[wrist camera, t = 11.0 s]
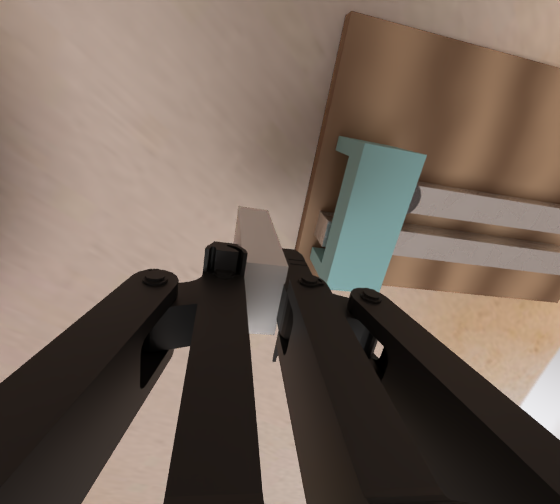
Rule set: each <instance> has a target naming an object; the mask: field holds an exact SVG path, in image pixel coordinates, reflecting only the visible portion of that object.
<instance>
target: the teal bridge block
mask: <svg viewBox="0 0 560 504" xmlns="http://www.w3.org/2000/svg"><path fill="white" fill-rule="evenodd" d="M336 151H339V152H341V153H343V154H345V155H348V156H349V158H348V162H347V166H346V170H345V174H344V178H343V182H342V185H341V189H340V193H339V197H338V201H337V205H336V209H335V213H334V217H333V220H332V224H331V228H330V232H329V236H328V240H327V244H326V248H325V249H324V248H316V247H312V251H311V255H310V260H311V262H312V264H313V266H314V268H315V270H316V272H317V274H318V276H319V277H320V278H321V279H322V280H324V281H325V282H326V283H327V285H328V286H329V288H330V290H340V291H352V290H353V289H355V288H369V289H374V290H375V291H377V292H379V291H380V289H381V286H382V283H383V280H384V277H385V274H386V271H387V268H388V266H389V263H390V260H391V257H392V254H393V251H394V248H395V245H396V243H397V240H398V237H399V234H400V231H401V228H402V225H403V223H404V220H405V217H406V214H407V211H408V208H409V205H410V202H411V200H412V197H413V194H414V191H415V188H416V185H417V182H418V179H419V177H420V174H421V171H422V168H423V165H424V162H425V159H426V156H427V155H425V154H421V153H417V152H413V151H409V150H405V149H401V148H397V147H393V146H389V145H384V144H379V143H374V142H369V141H363V140H358V139H353V138H348V137H343V136H339V138H338V142H337V146H336Z"/></svg>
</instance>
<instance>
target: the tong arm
mask: <svg viewBox="0 0 560 504" xmlns="http://www.w3.org/2000/svg"><path fill="white" fill-rule="evenodd" d="M409 213H413V214H420V215H427V216H434V217H442V218H449V219H456V220H463V221H470V222H477V223H484V224H491V225H498V226H505V227H512V228H520V229H527V230H534V231H541V232H548V233H555V234H560V204H554V203H548V202H542V201H536V200H530V199H523V198H517V197H511V196H505V195H499V194H493V193H486V192H480V191H474V190H468V189H462V188H456V187H450V186H443V185H437V184H431V183H425V182H419V181H418V182H417V185H416V188H415V191H414V194H413V197H412V200H411V202H410V205H409V208H408V211H407V214H409Z"/></svg>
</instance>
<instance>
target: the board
mask: <svg viewBox="0 0 560 504" xmlns="http://www.w3.org/2000/svg"><path fill="white" fill-rule="evenodd" d="M339 136H343V137H348V138H353V139H358V140H363V141H369V142H374V143H379V144H384V145H389V146H393V147H397V148H401V149H405V150H409V151H413V152H417V153H421V154H425V155H427V156H426V159H425V162H424V165H423V168H422V171H421V174H420V177H419V179H418V181H419V182H425V183H431V184H437V185H443V186H450V187H456V188H462V189H468V190H474V191H480V192H486V193H493V194H499V195H505V196H511V197H517V198H523V199H530V200H536V201H542V202H548V203H554V204H560V68H557V67H554V66H550V65H546V64H543V63H539V62H535V61H532V60H528V59H525V58H521V57H517V56H514V55H510V54H506V53H503V52H499V51H495V50H492V49H488V48H484V47H481V46H477V45H474V44H470V43H466V42H463V41H459V40H455V39H452V38H448V37H444V36H441V35H437V34H434V33H430V32H426V31H423V30H419V29H415V28H412V27H408V26H404V25H401V24H397V23H394V22H390V21H386V20H383V19H379V18H375V17H372V16H368V15H364V14H361V13H357V12H354V11H351V12H350V13H349V14H347V15H346V17H345V21H344V26H343V30H342V35H341V40H340V44H339V49H338V53H337V58H336V63H335V67H334V72H333V76H332V81H331V86H330V90H329V95H328V99H327V104H326V109H325V113H324V118H323V122H322V127H321V132H320V136H319V141H318V145H317V150H316V155H315V159H314V164H313V168H312V173H311V178H310V182H309V187H308V191H307V196H306V201H305V205H304V210H303V214H302V219H301V224H300V228H299V233H298V237H297V242H296V247H295V250H297V251H298V252H299V253H300V254H302V255H303V257H304V259H305V262H306V263H307V265H308V267H309V269H310V271H311V273H312V275H314V276H317V277H319V276H318V274H317V272H316V270H315V268H314V266H313V264H312V262H311V260H310V255H311V251H312V247H316V248H324V249H325V248H326V247H322V246H321V244H320V243H319V241H318V240H317V238H316V236H315V235H314V233H315V229H316V225H317V221H318V216H319V212H320V211H324V212H331V213H335V209H336V205H337V201H338V197H339V193H340V189H341V185H342V182H343V178H344V174H345V170H346V166H347V162H348V158H349V156H348V155H345V154H343V153H341V152H339V151H336V146H337V142H338V138H339ZM404 223H408V224H415V225H422V226H429V227H436V228H443V229H450V230H457V231H464V232H471V233H478V234H485V235H492V236H499V237H506V238H513V239H520V240H527V241H534V242H541V243H548V244H555V245H558V246H560V234H555V233H548V232H541V231H534V230H527V229H520V228H512V227H505V226H498V225H491V224H484V223H477V222H470V221H463V220H456V219H449V218H442V217H434V216H427V215H420V214H413V213H409V214H406V217H405V220H404ZM319 278H320V277H319ZM382 285H385V286H395V287H405V288H415V289H425V290H435V291H445V292H455V293H465V294H475V295H485V296H495V297H505V298H515V299H525V300H535V301H545V302H555V303H558V301H559V299H560V275H554V274H546V273H537V272H529V271H521V270H512V269H504V268H496V267H488V266H479V265H471V264H463V263H454V262H446V261H438V260H429V259H421V258H413V257H405V256H396V255H392V257H391V260H390V263H389V266H388V268H387V271H386V274H385V277H384V280H383V283H382Z"/></svg>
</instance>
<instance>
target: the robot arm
mask: <svg viewBox="0 0 560 504" xmlns="http://www.w3.org/2000/svg"><path fill="white" fill-rule="evenodd" d="M178 282H179V280H178V278H177V276H176V275H175V274H173V273H172V272H168V271H165V270H159V269H147V270H144V271H140V272H137V273H136V274H134V275H132V276H131V277H130V278H129V279H127V280H126V281H125V282H124V283H122V284H121V285H120V286H119V287H118V288H116V289H115V290H114V291H113V292H111V293H110V294H109V295H108V296H107V297H105V298H104V299H103V300H102V301H100V302H99V303H98V304H97V305H96V306H94V307H93V308H92V309H91V310H89V311H88V312H87V313H86V314H85V315H83V316H82V317H81V318H80V319H78V320H77V321H76V322H75V323H74V324H72V325H71V326H70V327H69V328H67V329H66V330H65V331H64V332H63V333H61V334H60V335H59V336H58V337H56V338H55V339H54V340H53V341H51V342H50V343H49V344H48V345H47V346H45V347H44V348H43V349H42V350H40V351H39V352H38V353H37V354H36V355H34V356H33V357H32V358H31V359H29V360H28V361H27V362H26V363H25V364H23V365H22V366H21V367H20V368H18V369H17V370H16V371H15V372H14V373H12V374H11V375H10V376H9V377H7V378H6V379H5V380H4V381H3V382H1V383H0V504H81V503H82V502H83V500H84V498H85V497H86V495H87V494H88V492H89V490H90V489H91V487H92V485H93V484H94V482H95V481H96V479H97V477H98V476H99V474H100V472H101V471H102V469H103V468H104V466H105V464H106V463H107V461H108V459H109V458H110V456H111V455H112V453H113V451H114V450H115V448H116V446H117V445H118V443H119V442H120V440H121V438H122V437H123V435H124V433H125V432H126V430H127V429H128V427H129V425H130V424H131V422H132V421H133V419H134V417H135V416H136V414H137V412H138V411H139V409H140V408H141V406H142V404H143V403H144V401H145V399H146V398H147V396H148V395H149V393H150V391H151V390H152V388H153V386H154V385H155V383H156V382H157V380H158V378H159V377H160V375H161V373H162V372H163V370H164V369H165V367H166V365H167V364H168V362H169V361H170V359H171V357H172V355H173V352H174V349H175V348H181V347H187V346H190V351H189V357H188V363H187V369H186V375H185V380H184V386H183V392H182V398H181V404H180V410H179V416H178V422H177V427H176V433H175V439H174V445H173V451H172V457H171V463H170V468H169V474H168V480H167V486H166V492H165V498H164V503H163V504H264V501H263V493H262V481H261V469H260V457H259V445H258V433H257V422H256V410H255V398H254V386H253V374H252V362H251V350H250V339H249V333H250V334H267V335H274V334H275V329H276V324H278V329H279V331H278V336H277V341H276V345H275V350H274V355H273V361H272V362H276V358H277V356H279V361H280V366H281V371H282V377H283V382H284V387H285V393H286V398H287V403H288V408H289V414H290V419H291V424H292V430H293V435H294V440H295V445H296V451H297V456H298V461H299V466H300V472H301V477H302V482H303V488H304V493H305V498H306V503H307V504H560V440H559V439H557V438H556V437H555V436H554V435H553V434H552V433H550V432H549V431H548V430H547V429H545V428H544V427H543V426H542V425H540V424H539V423H538V422H537V421H536V420H535V419H533V418H532V417H531V416H530V415H528V414H527V413H526V412H525V411H524V410H522V409H521V408H520V407H519V406H518V405H516V404H515V403H514V402H513V401H512V400H510V399H509V398H508V397H507V396H506V395H504V394H503V393H502V392H501V391H500V390H498V389H497V388H496V387H495V386H493V385H492V384H491V383H490V382H489V381H487V380H486V379H485V378H484V377H483V376H481V375H480V374H479V373H478V372H477V371H475V370H474V369H473V368H472V367H470V366H469V365H468V364H467V363H466V362H464V361H463V360H462V359H461V358H460V357H458V356H457V355H456V354H455V353H454V352H452V351H451V350H450V349H449V348H447V347H446V346H445V345H444V344H443V343H441V342H440V341H439V340H438V339H437V338H435V337H434V336H433V335H432V334H431V333H429V332H428V331H427V330H426V329H424V328H423V327H422V326H421V325H420V324H418V323H417V322H416V321H415V320H414V319H412V318H411V317H410V316H409V315H408V314H406V313H405V312H404V311H403V310H401V309H400V308H399V307H398V306H397V305H395V304H394V303H393V302H392V301H391V300H389V299H388V298H387V297H386V296H384V295H383V294H381V293H379V292H377V291H375V290H374V289H369V288H355V289H353V290H352V291H351V293H350V297H349V298H347V297H343V296H339V295H335V294H332V292H331V290H330V288H329V286H328V285H327V283H326V282H325V281H324V280H322V279H321V278H319V277H317V276H314V275H312V273H311V271H310V269H309V267H308V265H307V263H306V262H305V259H304V257H303V255H302V254H300V253H299V252H298V251H297V250H292V249H283V248H282V247H281V245H280V242H279V239H278V237H277V234H276V231H275V228H274V226H273V223H272V220H271V218H270V215H269V212H268V210H261V209H254V208H247V207H238V214H237V222H236V229H235V237H234V244H232V243H223V242H215V241H214V242H213V243H212V244H210V245H208V246H207V247H206V248H205V257H204V267H203V275H202V277H200V278H199V279H197V280H194V281H191V282H184V283H178ZM377 341H379V342H380V343H381V344H382V345H383V346H384V348H383V351H382V354H381V356H380V358H378V357H377V356H376V355H375V354H374V353H373V352H374V350H375V347H376V344H377Z"/></svg>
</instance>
